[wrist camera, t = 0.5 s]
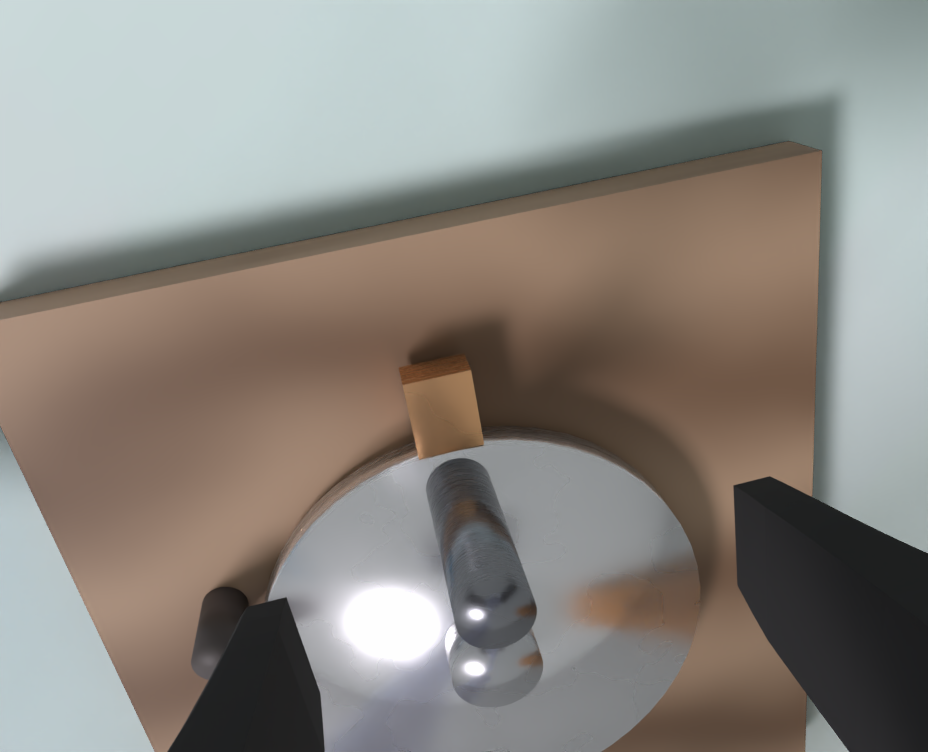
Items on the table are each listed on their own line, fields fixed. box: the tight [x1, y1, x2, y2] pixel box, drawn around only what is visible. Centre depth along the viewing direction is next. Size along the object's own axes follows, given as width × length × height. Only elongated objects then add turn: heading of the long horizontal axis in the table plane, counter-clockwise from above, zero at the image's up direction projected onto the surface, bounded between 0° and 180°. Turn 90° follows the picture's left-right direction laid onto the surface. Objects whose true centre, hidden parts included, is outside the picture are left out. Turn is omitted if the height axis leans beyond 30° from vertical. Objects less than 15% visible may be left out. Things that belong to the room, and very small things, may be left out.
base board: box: [0, 141, 822, 752], centre depth 23 cm, size 22×20×4 cm
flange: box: [265, 353, 700, 752], centre depth 20 cm, size 14×12×6 cm
